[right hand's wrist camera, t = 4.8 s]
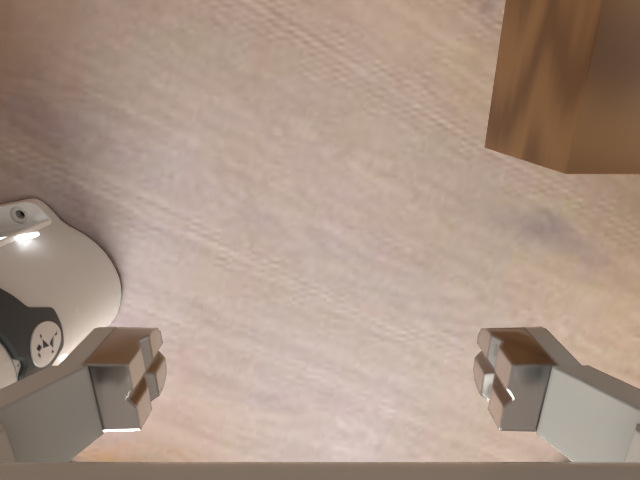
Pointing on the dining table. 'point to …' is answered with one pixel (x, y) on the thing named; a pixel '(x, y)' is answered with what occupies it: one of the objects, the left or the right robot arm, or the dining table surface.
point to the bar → (569, 85)
